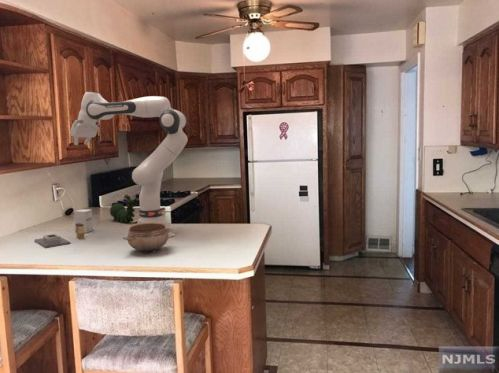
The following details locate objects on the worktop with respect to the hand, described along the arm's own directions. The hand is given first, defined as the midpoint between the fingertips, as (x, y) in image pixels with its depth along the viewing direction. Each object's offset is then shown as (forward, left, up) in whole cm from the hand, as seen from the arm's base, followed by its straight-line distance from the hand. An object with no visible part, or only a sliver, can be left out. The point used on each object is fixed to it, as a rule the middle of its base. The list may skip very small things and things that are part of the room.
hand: (80, 144), depth 237 cm
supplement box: (+7, -1, -51) cm, 51 cm away
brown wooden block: (-9, +7, -51) cm, 52 cm away
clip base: (-7, +21, -51) cm, 55 cm away
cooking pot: (-60, -7, -51) cm, 79 cm away
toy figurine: (+19, -30, -51) cm, 62 cm away
